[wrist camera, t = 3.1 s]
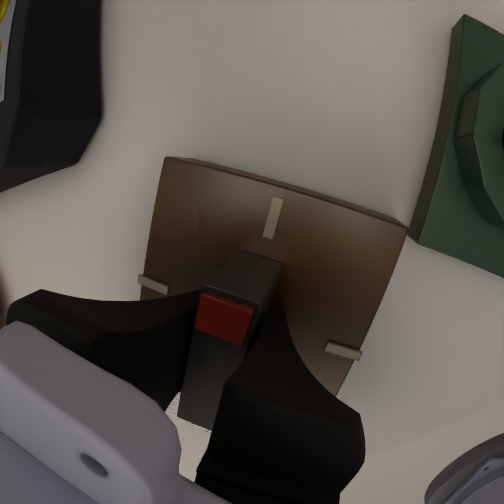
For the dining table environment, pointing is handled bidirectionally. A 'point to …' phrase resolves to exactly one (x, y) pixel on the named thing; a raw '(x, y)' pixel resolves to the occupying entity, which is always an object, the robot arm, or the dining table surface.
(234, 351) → the handle
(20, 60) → the arcade joystick
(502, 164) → the button box
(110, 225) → the dining table surface
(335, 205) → the panel
